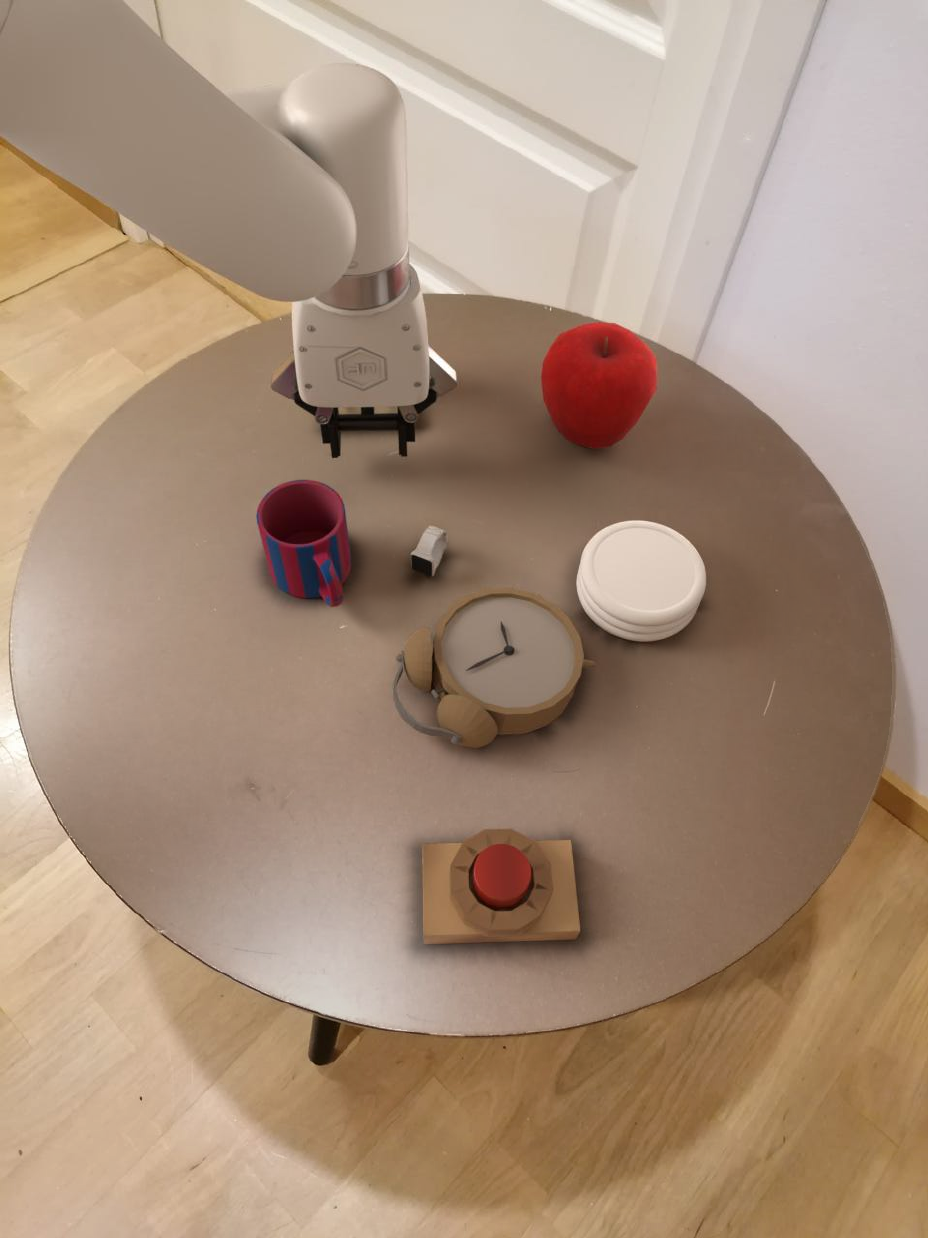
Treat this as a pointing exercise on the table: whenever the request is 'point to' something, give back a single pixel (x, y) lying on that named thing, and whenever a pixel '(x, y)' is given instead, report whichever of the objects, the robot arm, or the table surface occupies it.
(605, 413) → the apple
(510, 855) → the button
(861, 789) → the table surface
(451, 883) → the button block
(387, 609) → the table surface
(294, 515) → the mug
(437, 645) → the alarm clock
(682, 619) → the coaster
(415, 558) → the smartwatch
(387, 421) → the lever
